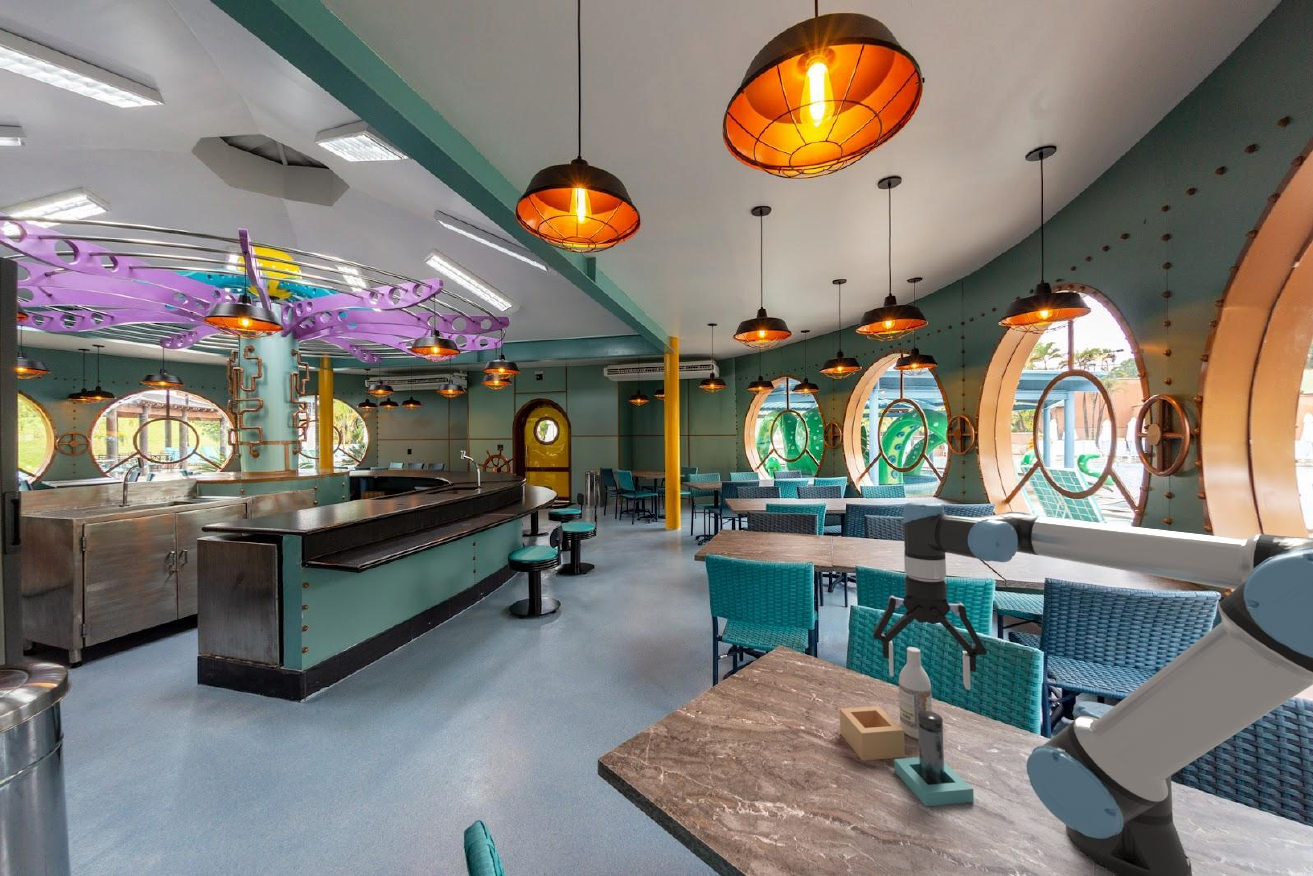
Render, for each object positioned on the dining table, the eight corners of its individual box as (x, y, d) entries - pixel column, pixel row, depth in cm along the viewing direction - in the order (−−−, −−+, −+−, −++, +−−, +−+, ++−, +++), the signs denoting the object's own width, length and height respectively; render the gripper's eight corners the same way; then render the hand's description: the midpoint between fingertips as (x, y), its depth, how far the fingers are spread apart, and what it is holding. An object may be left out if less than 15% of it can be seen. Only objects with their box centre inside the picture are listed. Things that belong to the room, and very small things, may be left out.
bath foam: (927, 744, 108) (924, 658, 109) (896, 732, 113) (893, 649, 114) (936, 732, 113) (933, 649, 114) (905, 720, 118) (903, 641, 119)
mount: (973, 802, 91) (973, 789, 91) (925, 806, 90) (925, 793, 90) (938, 767, 101) (937, 755, 101) (894, 771, 100) (894, 759, 100)
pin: (950, 792, 93) (947, 722, 94) (929, 794, 93) (927, 723, 93) (934, 777, 98) (932, 710, 98) (915, 779, 97) (913, 711, 98)
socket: (904, 757, 104) (904, 730, 104) (862, 760, 103) (861, 733, 103) (879, 730, 114) (878, 706, 114) (840, 733, 113) (839, 708, 113)
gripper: (993, 578, 95) (996, 683, 94) (860, 567, 105) (862, 661, 105) (1002, 588, 88) (1006, 701, 87) (859, 575, 98) (862, 676, 98)
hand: (928, 680), depth 96 cm, fingers open, 13 cm apart
